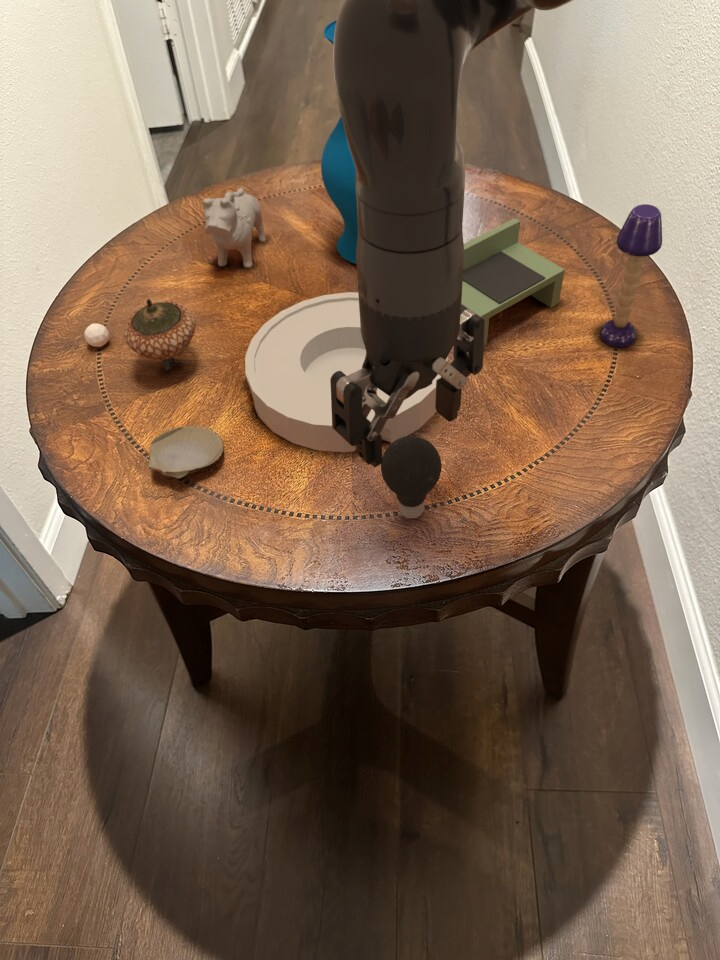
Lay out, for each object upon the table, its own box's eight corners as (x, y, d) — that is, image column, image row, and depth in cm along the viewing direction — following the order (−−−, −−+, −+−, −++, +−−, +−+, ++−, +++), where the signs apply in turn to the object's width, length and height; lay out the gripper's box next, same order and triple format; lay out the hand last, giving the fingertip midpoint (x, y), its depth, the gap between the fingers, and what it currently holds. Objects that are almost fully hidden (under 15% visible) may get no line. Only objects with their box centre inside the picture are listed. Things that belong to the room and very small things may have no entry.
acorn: (194, 337, 94) (175, 269, 87) (214, 375, 89) (196, 307, 82) (131, 358, 92) (105, 290, 85) (147, 398, 87) (122, 330, 80)
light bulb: (374, 526, 73) (369, 458, 66) (395, 485, 77) (393, 416, 69) (428, 543, 72) (429, 475, 64) (447, 500, 75) (450, 431, 67)
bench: (508, 272, 99) (514, 217, 93) (559, 303, 95) (569, 247, 89) (428, 315, 95) (429, 260, 88) (477, 350, 90) (482, 294, 84)
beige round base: (384, 481, 77) (382, 455, 74) (210, 408, 86) (202, 382, 83) (480, 352, 89) (483, 325, 86) (320, 299, 98) (317, 273, 95)
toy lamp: (627, 354, 88) (663, 226, 75) (589, 342, 89) (617, 215, 77) (640, 331, 90) (677, 203, 77) (603, 320, 92) (633, 193, 79)
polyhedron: (113, 336, 95) (106, 317, 93) (110, 351, 94) (102, 332, 91) (91, 338, 95) (83, 319, 93) (87, 353, 94) (79, 334, 91)
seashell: (235, 459, 83) (178, 423, 84) (238, 440, 80) (179, 404, 82) (188, 502, 77) (127, 464, 79) (190, 483, 75) (128, 444, 76)
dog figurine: (207, 282, 102) (189, 210, 94) (235, 230, 110) (220, 160, 102) (244, 284, 101) (229, 212, 93) (269, 232, 109) (257, 162, 101)
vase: (418, 224, 108) (419, 7, 87) (410, 275, 100) (408, 50, 79) (337, 222, 110) (318, 9, 89) (322, 272, 102) (297, 50, 81)
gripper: (363, 349, 49) (372, 503, 61) (518, 266, 54) (498, 423, 66) (298, 297, 53) (319, 451, 65) (449, 224, 58) (442, 380, 70)
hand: (409, 437), depth 66 cm, fingers open, 8 cm apart
